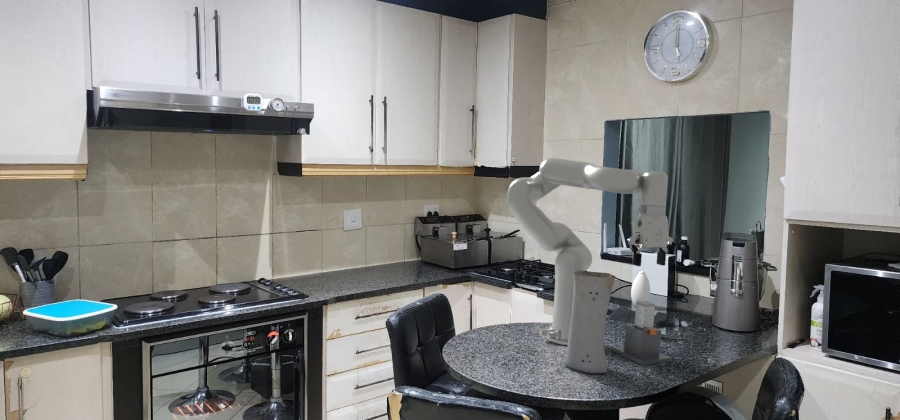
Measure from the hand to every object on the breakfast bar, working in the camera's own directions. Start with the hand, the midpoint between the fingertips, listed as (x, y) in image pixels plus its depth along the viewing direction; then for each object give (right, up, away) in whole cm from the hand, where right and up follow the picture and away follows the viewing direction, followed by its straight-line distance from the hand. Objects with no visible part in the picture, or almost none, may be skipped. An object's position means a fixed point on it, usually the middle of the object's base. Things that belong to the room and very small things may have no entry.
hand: (648, 265), depth 191 cm
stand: (-2, -29, +1) cm, 29 cm away
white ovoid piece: (+19, -25, +71) cm, 77 cm away
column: (-2, -28, +1) cm, 28 cm away
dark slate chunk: (+12, -27, +47) cm, 55 cm away
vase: (-22, -29, -13) cm, 39 cm away
